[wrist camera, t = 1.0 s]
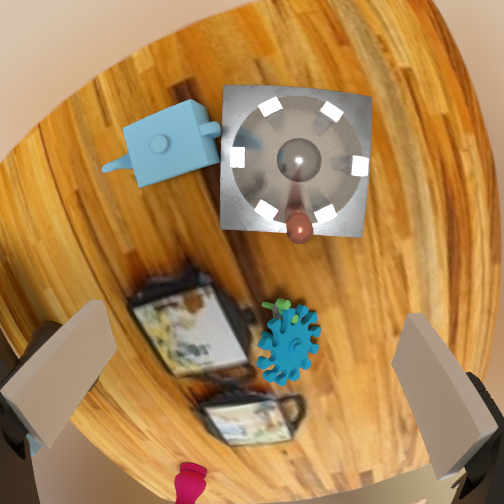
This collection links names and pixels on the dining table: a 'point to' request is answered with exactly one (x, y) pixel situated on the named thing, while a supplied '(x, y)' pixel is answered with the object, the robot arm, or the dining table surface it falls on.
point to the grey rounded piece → (297, 162)
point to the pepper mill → (189, 483)
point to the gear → (287, 341)
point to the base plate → (233, 115)
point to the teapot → (169, 144)
